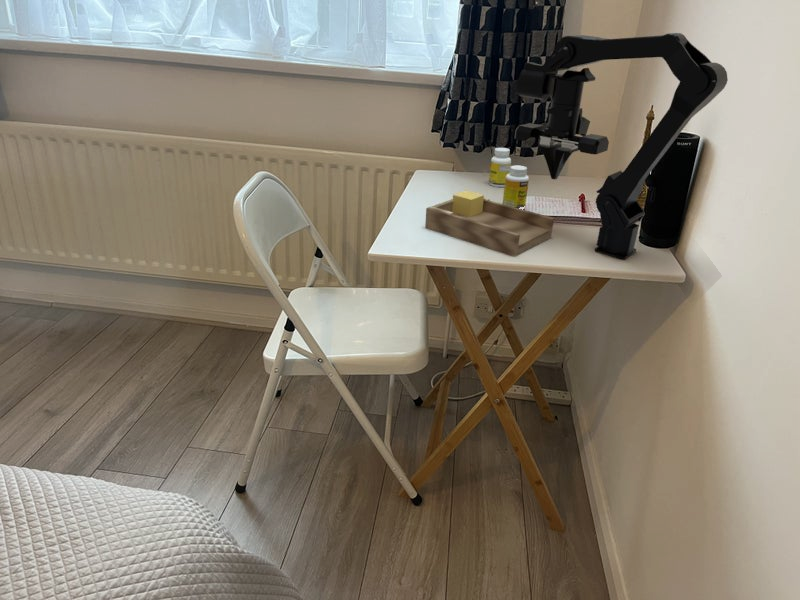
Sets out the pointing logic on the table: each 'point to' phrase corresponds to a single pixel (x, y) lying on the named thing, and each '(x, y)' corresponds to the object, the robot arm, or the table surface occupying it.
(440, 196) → the table surface
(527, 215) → the wooden tray
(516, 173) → the supplement bottle
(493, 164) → the supplement bottle
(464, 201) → the block
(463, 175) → the table surface
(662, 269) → the table surface
